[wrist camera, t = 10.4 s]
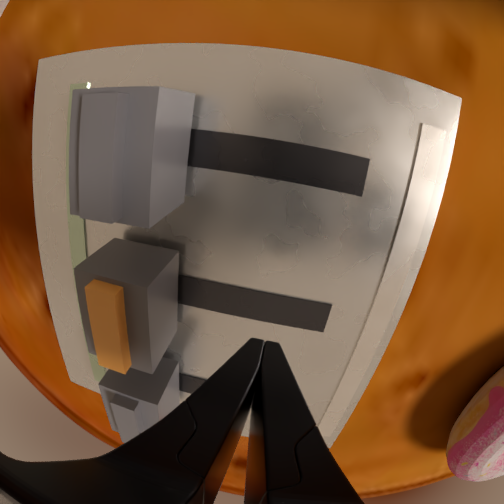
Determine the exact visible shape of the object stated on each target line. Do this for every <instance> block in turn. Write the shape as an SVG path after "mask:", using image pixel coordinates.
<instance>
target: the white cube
mask: <svg viewBox="0 0 504 504" xmlns="http://www.w3.org/2000/svg"><path fill="white" fill-rule="evenodd" d="M8 2H9V0H0V17H1V15H2V13H3V11H4V9H5V7H6V6H7V4H8Z"/></svg>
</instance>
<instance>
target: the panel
mask: <svg viewBox="0 0 504 504" xmlns="http://www.w3.org/2000/svg"><path fill="white" fill-rule="evenodd" d="M128 86H160V87H165V88H171V89H176V90H181V91H185V92H190V93H195V101H194V109H193V117H192V125H191V134H190V143H189V153H188V163H187V174H186V186H185V198H184V203H182V204H181V205H180V206H178V207H177V208H176V209H174V210H173V211H172V212H170V213H169V214H168V215H166V216H165V217H164V218H162V219H161V220H160V221H159V222H157V223H156V224H155V225H153V226H152V227H151V228H150V229H148V228H142V227H137V226H131V225H126V224H120V223H113V224H109V223H104V222H99V221H93V220H88V219H82V218H80V216H77V215H71V214H70V202H69V135H70V117H71V104H72V93H73V90H74V89H86V88H102V87H128ZM461 100H462V98H460V97H457V96H455V95H453V94H450V93H448V92H445V91H443V90H440V89H437V88H435V87H432V86H429V85H426V84H424V83H421V82H418V81H415V80H412V79H409V78H406V77H403V76H400V75H396V74H393V73H390V72H386V71H383V70H379V69H376V68H372V67H368V66H364V65H360V64H356V63H352V62H348V61H344V60H339V59H334V58H330V57H325V56H319V55H314V54H308V53H302V52H296V51H289V50H282V49H274V48H266V47H256V46H245V45H231V44H210V43H163V44H143V45H129V46H118V47H109V48H101V49H93V50H86V51H80V52H74V53H68V54H63V55H58V56H53V57H48V58H44V59H39V63H38V71H37V79H36V88H35V98H34V112H33V133H32V172H33V194H34V208H35V219H36V229H37V237H38V245H39V252H40V259H41V265H42V271H43V276H44V282H45V287H46V292H47V297H48V301H49V306H50V310H51V314H52V319H53V323H54V327H55V330H56V334H57V338H58V341H59V345H60V348H61V352H62V355H63V358H64V362H65V365H66V368H67V371H68V374H69V377H70V380H71V381H72V382H74V383H76V384H79V385H81V386H83V387H86V388H88V389H90V390H93V391H95V392H98V393H100V394H101V392H100V389H99V385H98V384H99V382H100V381H101V379H102V378H103V376H104V375H105V373H106V372H107V371H108V368H106V367H103V366H100V365H99V363H98V359H97V355H94V354H91V353H89V351H88V347H87V343H86V338H85V333H84V329H83V324H82V319H81V313H80V308H79V302H78V296H77V290H76V283H75V276H74V268H75V267H76V266H77V265H78V264H80V263H81V262H82V261H84V260H85V259H86V258H88V257H89V256H90V255H92V254H93V253H94V252H96V251H97V250H98V249H100V248H101V247H102V246H104V245H105V244H107V243H108V242H109V241H111V240H112V239H113V238H119V239H124V240H128V241H133V242H138V243H143V244H148V245H153V246H158V247H163V248H168V249H173V250H178V251H179V271H178V308H177V332H176V333H175V335H174V337H173V339H172V341H171V342H170V344H169V346H168V348H167V349H166V351H165V353H164V355H163V357H165V358H169V359H172V360H176V361H179V399H180V404H181V403H182V402H183V401H185V400H186V398H187V397H188V396H190V395H191V394H192V393H193V392H194V391H195V390H196V389H197V388H198V387H199V386H201V385H202V384H203V383H204V382H205V381H206V380H207V379H208V378H209V377H210V376H211V375H212V374H213V373H215V372H216V371H217V370H218V369H219V368H220V367H221V366H222V365H223V364H224V363H225V362H226V361H227V360H228V359H229V358H230V357H231V356H232V355H234V354H235V353H236V352H237V351H238V350H239V349H240V348H241V347H242V346H243V345H244V344H245V343H246V342H247V341H248V340H249V339H250V338H258V339H263V340H264V341H267V340H268V341H273V342H278V343H280V345H281V347H282V349H283V352H284V354H285V356H286V358H287V361H288V363H289V365H290V367H291V369H292V372H293V374H294V376H295V378H296V380H297V383H298V385H299V387H300V389H301V392H302V394H303V396H304V398H305V400H306V402H307V405H308V407H309V409H310V411H311V413H312V416H313V418H314V420H315V422H316V426H317V427H318V428H319V431H320V433H321V435H322V437H323V439H324V441H325V443H326V445H327V447H328V448H331V446H332V444H333V443H334V441H335V440H336V438H337V437H338V435H339V433H340V432H341V430H342V429H343V427H344V425H345V424H346V422H347V420H348V419H349V417H350V415H351V414H352V412H353V410H354V408H355V407H356V405H357V403H358V401H359V400H360V398H361V396H362V394H363V392H364V391H365V389H366V387H367V385H368V383H369V381H370V379H371V378H372V376H373V374H374V372H375V370H376V368H377V366H378V364H379V362H380V360H381V358H382V356H383V354H384V352H385V350H386V348H387V345H388V343H389V341H390V339H391V337H392V335H393V332H394V330H395V328H396V326H397V324H398V321H399V319H400V317H401V314H402V312H403V310H404V307H405V305H406V302H407V300H408V297H409V295H410V292H411V290H412V287H413V285H414V282H415V279H416V277H417V274H418V271H419V269H420V266H421V263H422V260H423V257H424V255H425V252H426V249H427V246H428V243H429V240H430V236H431V233H432V230H433V227H434V224H435V220H436V217H437V213H438V210H439V206H440V203H441V199H442V195H443V192H444V188H445V184H446V180H447V175H448V171H449V167H450V162H451V158H452V153H453V148H454V143H455V138H456V132H457V127H458V121H459V114H460V108H461ZM264 345H265V344H264ZM253 397H254V396H253ZM251 407H252V405H251ZM250 415H251V409H250V412H249V415H248V418H247V420H246V423H245V426H244V428H243V431H242V434H241V436H246V437H249V428H250Z"/></svg>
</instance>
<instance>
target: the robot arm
mask: <svg viewBox="0 0 504 504" xmlns="http://www.w3.org/2000/svg"><path fill="white" fill-rule="evenodd" d="M264 344H265V345H264ZM253 396H254V397H253ZM251 405H252V407H251ZM250 409H251V415H250V428H249V442H248V456H247V469H246V483H245V496H244V504H364V502H363V501H362V500H361V498H360V497H359V496H358V494H357V493H356V491H355V490H354V488H353V487H352V485H351V484H350V482H349V481H348V479H347V478H346V476H345V475H344V473H343V472H342V470H341V469H340V467H339V466H338V464H337V462H336V461H335V459H334V457H333V456H332V454H331V452H330V451H329V449H328V447H327V445H326V443H325V441H324V439H323V437H322V435H321V433H320V431H319V428H318V427H317V426H316V422H315V420H314V418H313V416H312V413H311V411H310V409H309V407H308V405H307V402H306V400H305V398H304V396H303V394H302V392H301V389H300V387H299V385H298V383H297V380H296V378H295V376H294V374H293V372H292V369H291V367H290V365H289V363H288V361H287V358H286V356H285V354H284V352H283V349H282V347H281V345H280V343H278V342H273V341H268V340H267V341H264V340H263V339H258V338H250V339H249V340H248V341H247V342H246V343H245V344H244V345H243V346H242V347H241V348H240V349H239V350H238V351H237V352H236V353H235V354H234V355H232V356H231V357H230V358H229V359H228V360H227V361H226V362H225V363H224V364H223V365H222V366H221V367H220V368H219V369H218V370H217V371H216V372H215V373H213V374H212V375H211V376H210V377H209V378H208V379H207V380H206V381H205V382H204V383H203V384H202V385H201V386H199V387H198V388H197V389H196V390H195V391H194V392H193V393H192V394H191V395H190V396H188V397H187V398H186V400H185V401H183V402H182V403H181V404H179V405H178V406H177V407H176V408H175V409H174V410H173V411H171V412H170V413H169V414H168V415H166V416H165V417H164V418H163V419H161V420H160V421H158V422H157V423H155V424H154V425H153V426H151V427H150V428H148V429H147V430H145V431H143V432H142V433H140V434H139V435H137V436H135V437H134V438H132V439H131V440H129V441H127V442H126V443H124V444H122V445H121V446H119V447H117V448H116V449H114V450H112V451H111V452H109V453H106V454H104V455H102V456H99V457H95V458H90V459H80V460H68V461H51V462H24V461H19V460H15V459H13V458H10V457H8V456H6V455H4V454H3V453H1V452H0V504H213V503H214V501H215V498H216V496H217V494H218V491H219V489H220V486H221V484H222V482H223V479H224V477H225V474H226V472H227V469H228V467H229V464H230V462H231V459H232V457H233V454H234V452H235V449H236V447H237V444H238V441H239V439H240V436H241V434H242V431H243V428H244V426H245V423H246V420H247V418H248V415H249V412H250Z"/></svg>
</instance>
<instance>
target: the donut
mask: <svg viewBox="0 0 504 504" xmlns="http://www.w3.org/2000/svg"><path fill="white" fill-rule="evenodd" d="M446 457H447V462H448V466H449V468H450V470H451V471H452V472H453V473H454V474H455V475H456V476H457V477H459V478H460V479H463V480H469V481H485V480H489V479H493V478H496V477H499V476H502V475H504V366H503V367H502V368H501V369H500V370H499V371H497V372H496V373H495V374H494V375H493V376H492V377H491V378H490V379H489V380H488V381H487V382H486V383H485V384H484V385H483V386H482V387H481V388H480V389H479V390H478V392H477V393H476V394H475V395H474V397H473V398H472V399H471V401H470V402H469V403H468V404H467V406H466V407H465V408H464V410H463V411H462V413H461V414H460V416H459V417H458V419H457V420H456V422H455V423H454V426H453V428H452V430H451V433H450V436H449V440H448V444H447V450H446Z"/></svg>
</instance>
